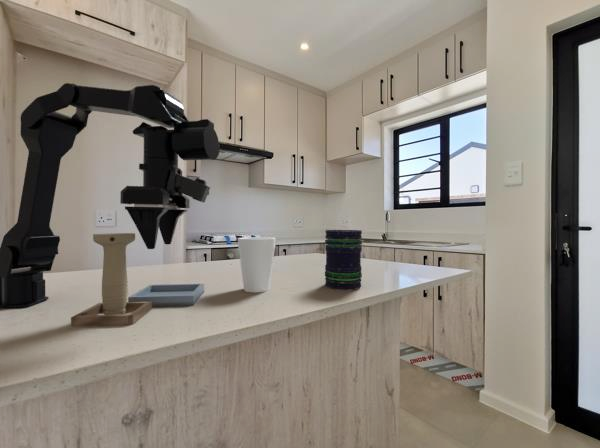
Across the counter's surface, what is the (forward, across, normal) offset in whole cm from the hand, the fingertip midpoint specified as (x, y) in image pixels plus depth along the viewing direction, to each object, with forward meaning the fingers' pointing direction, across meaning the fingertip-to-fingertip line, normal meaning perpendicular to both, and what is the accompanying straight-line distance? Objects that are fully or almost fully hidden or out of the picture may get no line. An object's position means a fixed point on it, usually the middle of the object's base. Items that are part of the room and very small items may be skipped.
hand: (160, 246), depth 55 cm
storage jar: (+12, +21, -40) cm, 47 cm away
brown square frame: (+13, 0, +8) cm, 15 cm away
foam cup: (+13, +19, -18) cm, 29 cm away
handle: (+13, 0, +8) cm, 15 cm away
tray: (+13, +12, +2) cm, 17 cm away
